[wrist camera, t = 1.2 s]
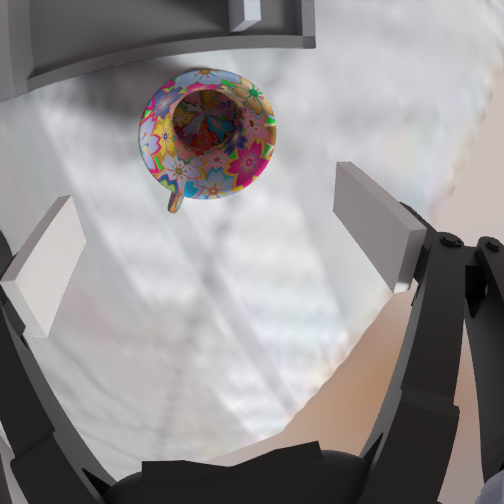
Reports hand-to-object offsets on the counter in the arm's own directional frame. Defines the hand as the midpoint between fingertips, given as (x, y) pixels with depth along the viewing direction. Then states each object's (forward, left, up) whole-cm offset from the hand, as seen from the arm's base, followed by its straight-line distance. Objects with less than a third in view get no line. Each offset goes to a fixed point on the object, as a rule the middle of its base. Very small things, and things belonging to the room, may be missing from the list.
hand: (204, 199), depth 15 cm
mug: (0, 0, -18) cm, 18 cm away
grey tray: (-4, +16, -18) cm, 24 cm away
